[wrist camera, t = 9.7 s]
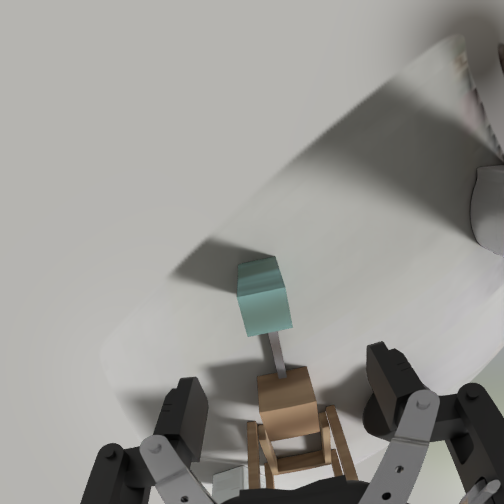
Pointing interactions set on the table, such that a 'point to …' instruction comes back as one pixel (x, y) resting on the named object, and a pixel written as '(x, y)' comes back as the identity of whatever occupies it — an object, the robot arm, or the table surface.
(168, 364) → the table surface
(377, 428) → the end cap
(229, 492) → the product box
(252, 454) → the shelf lane
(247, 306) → the corded block
